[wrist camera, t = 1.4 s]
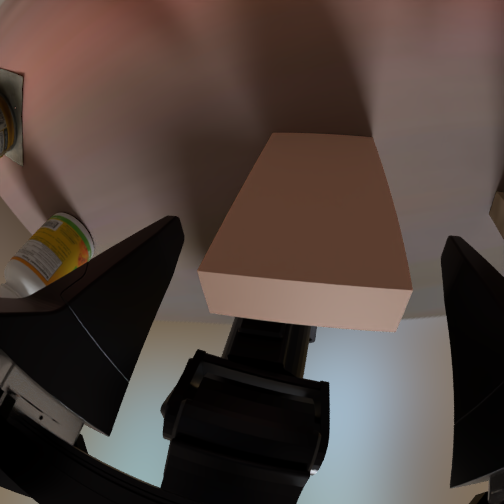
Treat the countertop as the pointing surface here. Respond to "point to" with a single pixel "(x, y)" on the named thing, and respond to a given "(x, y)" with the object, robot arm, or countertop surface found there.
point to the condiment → (11, 116)
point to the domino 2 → (498, 212)
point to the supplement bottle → (47, 256)
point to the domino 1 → (311, 239)
